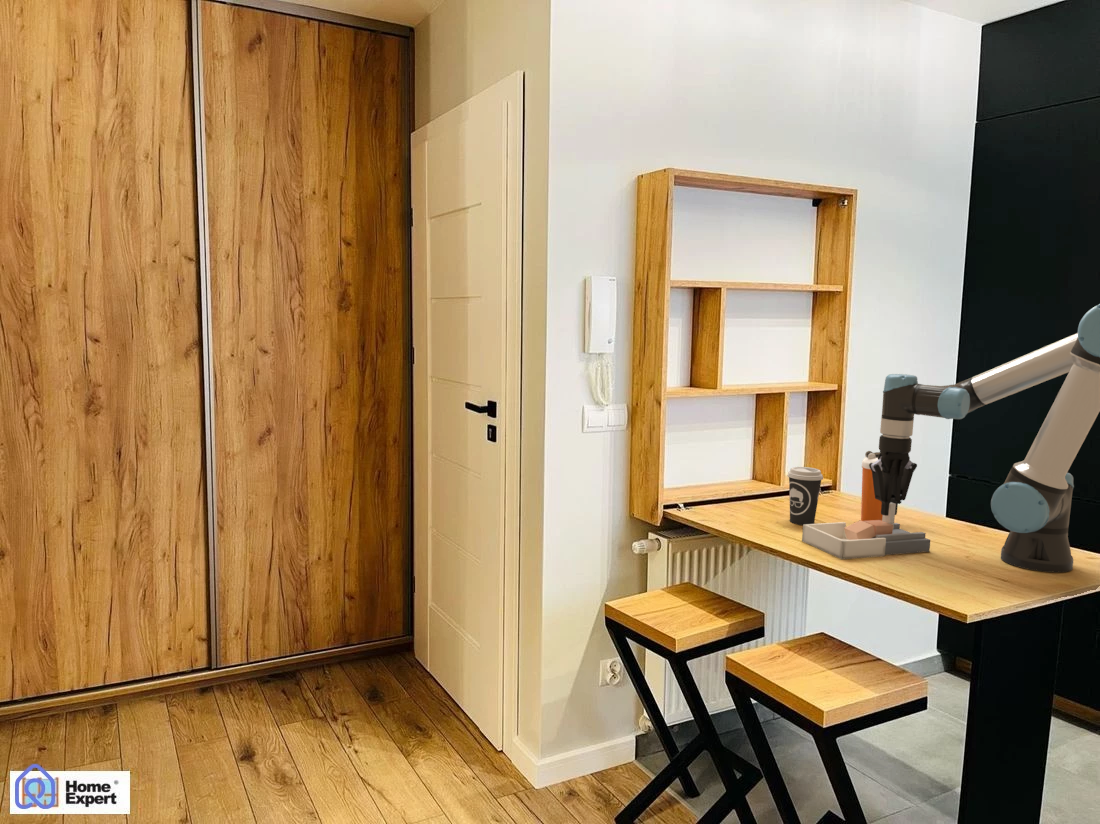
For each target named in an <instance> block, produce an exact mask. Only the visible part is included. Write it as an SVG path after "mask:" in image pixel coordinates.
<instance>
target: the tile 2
mask: <svg viewBox="0 0 1100 824" xmlns="http://www.w3.org/2000/svg"><path fill="white" fill-rule="evenodd" d="M864 522H866V523H869V524H871V525H873V527H874V531H875V535H884V534H892V532H893V525H892V524H889V523H887V522H884V521H881V520H870V521H864ZM875 538H876V536H875Z"/></svg>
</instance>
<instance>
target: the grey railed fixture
mask: <svg viewBox="0 0 1100 824" xmlns="http://www.w3.org/2000/svg"><path fill="white" fill-rule="evenodd" d="M900 527H901V524H900V523H898V522H894V529H893V532H892V534H884V535H876V538H886V545H885V556H887V555H889V556H890V555H899V554H901V555H902V554H915V553H927V552H928V553H930V548H931V539H929V538H926V534H927V533H926V532H924V531H919V532H918V531H916V532H910V531H907V530H905V529H902V528H900ZM873 538H875V537H873ZM871 539H872V538H871Z"/></svg>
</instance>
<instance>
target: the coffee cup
mask: <svg viewBox="0 0 1100 824" xmlns="http://www.w3.org/2000/svg"><path fill="white" fill-rule="evenodd" d="M823 475H824V474H822V471H821V470H820V469H818V468H815V467H809V466H807V467H806V466H792V467H791V468H790V470H789V471H788V473H787V477H788V484H789V485H788V486H789V487H788V489H789V522H790V523H792V524H793V525H797V526H803V524H815V519H816V513H817V507H818V502H819V496H820V491H821V485H822V480H824V476H823Z"/></svg>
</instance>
